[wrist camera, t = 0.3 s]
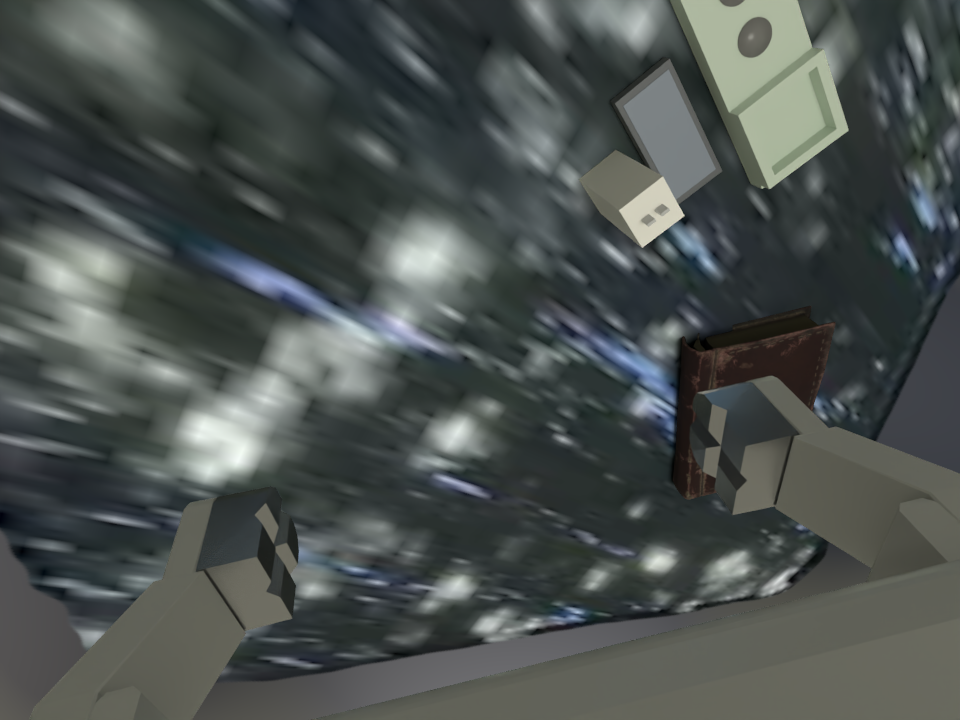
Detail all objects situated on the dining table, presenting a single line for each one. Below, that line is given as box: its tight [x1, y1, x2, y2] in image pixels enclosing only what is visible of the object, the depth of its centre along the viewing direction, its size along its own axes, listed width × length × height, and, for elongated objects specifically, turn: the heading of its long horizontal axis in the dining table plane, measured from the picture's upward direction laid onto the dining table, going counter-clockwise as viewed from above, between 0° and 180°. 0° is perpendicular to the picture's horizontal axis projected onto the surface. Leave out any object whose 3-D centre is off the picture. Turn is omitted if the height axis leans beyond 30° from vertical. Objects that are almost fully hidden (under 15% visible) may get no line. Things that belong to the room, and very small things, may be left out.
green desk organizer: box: [670, 0, 848, 189], centre depth 55 cm, size 22×9×4 cm, turn 37°
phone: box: [610, 57, 722, 204], centre depth 57 cm, size 13×6×1 cm, turn 37°
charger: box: [579, 150, 684, 247], centre depth 55 cm, size 4×4×11 cm
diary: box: [673, 306, 835, 500], centre depth 78 cm, size 19×25×5 cm
